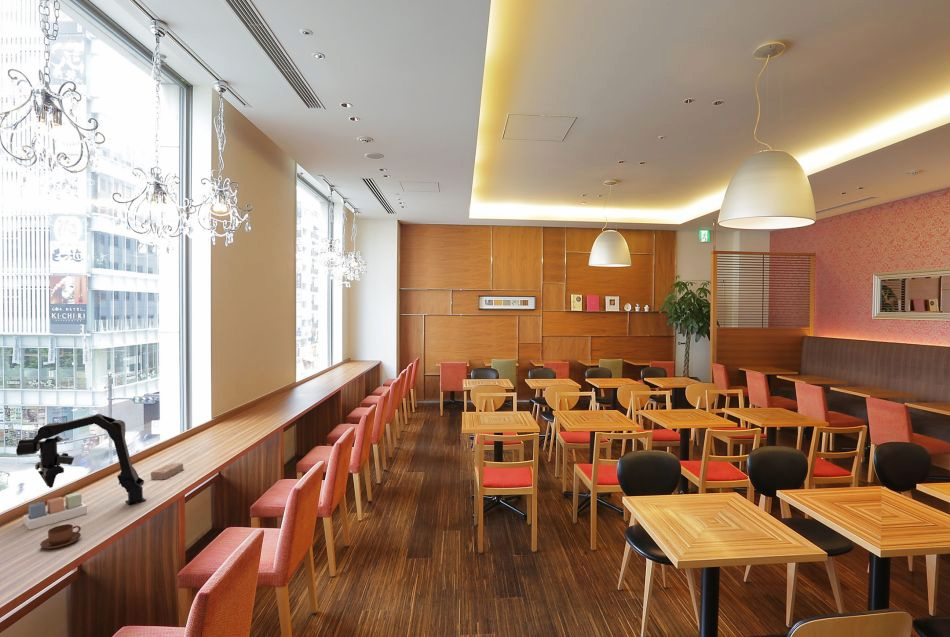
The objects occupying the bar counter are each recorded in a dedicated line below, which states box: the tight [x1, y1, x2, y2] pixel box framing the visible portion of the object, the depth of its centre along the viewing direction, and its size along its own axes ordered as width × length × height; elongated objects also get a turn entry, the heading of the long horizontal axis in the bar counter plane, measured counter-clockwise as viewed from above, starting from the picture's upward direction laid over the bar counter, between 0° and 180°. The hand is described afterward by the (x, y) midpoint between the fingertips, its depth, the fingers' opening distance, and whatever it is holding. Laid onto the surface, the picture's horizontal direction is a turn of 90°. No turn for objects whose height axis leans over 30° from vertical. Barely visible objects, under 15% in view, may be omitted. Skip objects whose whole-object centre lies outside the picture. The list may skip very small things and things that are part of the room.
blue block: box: [27, 501, 46, 520], centre depth 206 cm, size 5×5×6 cm
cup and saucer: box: [39, 523, 82, 550], centre depth 187 cm, size 12×12×6 cm
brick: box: [150, 462, 184, 480], centre depth 266 cm, size 17×8×5 cm, turn 0°
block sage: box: [64, 491, 83, 509], centre depth 216 cm, size 5×5×6 cm
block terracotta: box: [46, 496, 65, 514], centre depth 211 cm, size 5×5×6 cm
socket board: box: [23, 502, 88, 530], centre depth 211 cm, size 10×19×4 cm, turn 144°
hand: (50, 486), depth 215 cm, fingers open, 3 cm apart
